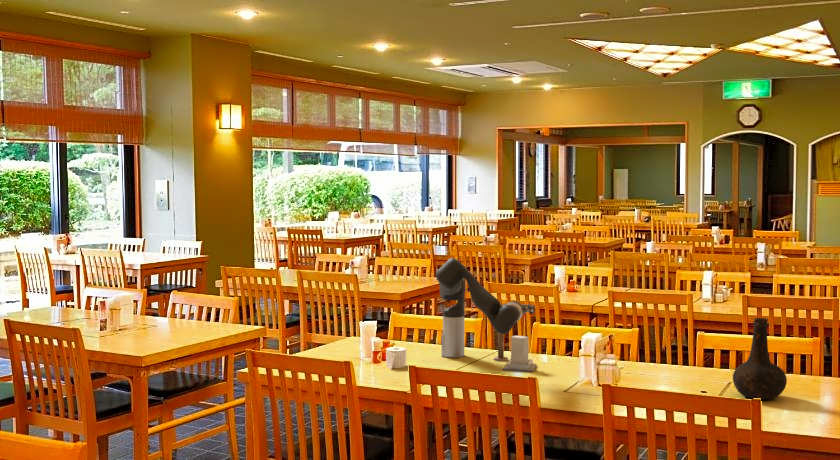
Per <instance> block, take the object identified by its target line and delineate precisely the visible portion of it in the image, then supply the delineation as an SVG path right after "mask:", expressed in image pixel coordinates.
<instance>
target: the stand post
mask: <svg viewBox="0 0 840 460" xmlns="http://www.w3.org/2000/svg"><path fill="white" fill-rule="evenodd" d="M504 339H505V334H501V333H499V332H497V356H494V357H493V361H496V362H508V361H509V357H507V356H505V353H504V352H505V343H504V342H505V341H504Z"/></svg>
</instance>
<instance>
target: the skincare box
mask: <svg viewBox="0 0 840 460" xmlns="http://www.w3.org/2000/svg"><path fill="white" fill-rule="evenodd" d="M510 359H511V364H528V359H529V336H524V335H512V336H510Z"/></svg>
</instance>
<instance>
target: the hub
mask: <svg viewBox="0 0 840 460" xmlns="http://www.w3.org/2000/svg"><path fill="white" fill-rule="evenodd" d="M533 361H534V359H529V358H528V364H511V358H510V359H508V361H506V363H505V365H504V366H503V368H502V371H507V372H523V373H524V372H525V373H526V372H527V373H533V372H534V371H535V369H536V367H537V365H538V364H537V363H533Z"/></svg>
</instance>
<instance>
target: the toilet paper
mask: <svg viewBox="0 0 840 460" xmlns="http://www.w3.org/2000/svg"><path fill="white" fill-rule="evenodd" d="M385 362H386V364H385V366H386V367H387V368H388V369H389V370H392V369H393V368H394V369H397V368H399V369H400V368H404V367H407V348H406V347H403V346H402V347H401V346H393V347H391V346H390V347H386V349H385Z"/></svg>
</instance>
